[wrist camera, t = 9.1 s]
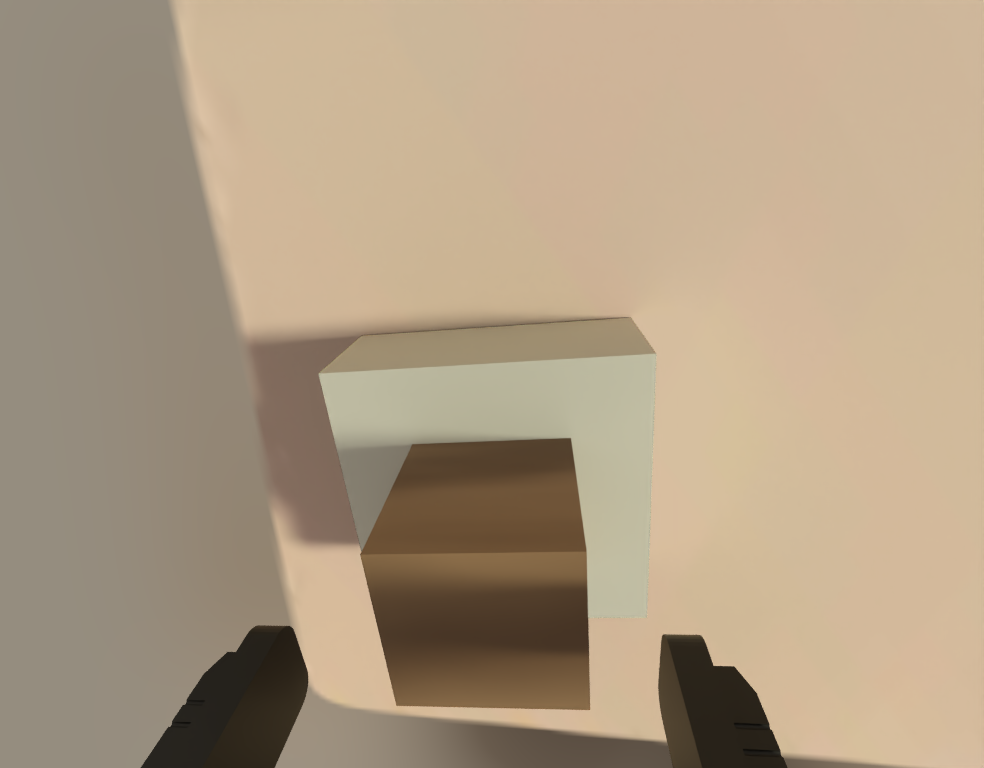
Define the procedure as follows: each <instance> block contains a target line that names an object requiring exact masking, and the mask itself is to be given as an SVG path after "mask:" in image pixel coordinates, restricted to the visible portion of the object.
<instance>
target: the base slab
mask: <svg viewBox="0 0 984 768" xmlns="http://www.w3.org/2000/svg"><path fill="white" fill-rule="evenodd" d="M319 378H320V383H321V387H322V391H323V395H324V399H325V403H326V407H327V411H328V416H329V420H330V424H331V428H332V432H333V436H334V440H335V445H336V449H337V453H338V457H339V461H340V465H341V469H342V473H343V478H344V482H345V486H346V490H347V494H348V498H349V502H350V507H351V511H352V515H353V519H354V523H355V527H356V531H357V535H358V540H359V544H360V548H361V552H362V550H363V548H364V546H365V544H366V542H367V539H368V537H369V535H370V533H371V531H372V529H373V527H374V525H375V522H376V520H377V518H378V516H379V514H380V512H381V510H382V508H383V505H384V503H385V501H386V499H387V497H388V495H389V493H390V491H391V488H392V486H393V484H394V482H395V480H396V478H397V476H398V474H399V472H400V469H401V467H402V465H403V463H404V461H405V459H406V457H407V455H408V452H409V450H410V448H411V446H412V444H431V443H457V442H482V441H508V440H534V439H559V438H571V442H572V449H573V456H574V463H575V471H576V478H577V485H578V492H579V499H580V507H581V514H582V521H583V528H584V536H585V543H586V550H587V589H588V618H647V603H648V576H649V548H650V520H651V492H652V464H653V436H654V409H655V381H656V352H655V351H654V349H653V348H652V347H651V345H650V344H649V342H648V341H647V340H646V338H645V337H644V335H643V334H642V332H641V331H640V330H639V328H638V327H637V325H636V324H635V323H634V321H633V320H632V318H616V319H601V320H586V321H571V322H557V323H542V324H527V325H512V326H497V327H483V328H468V329H453V330H438V331H423V332H409V333H394V334H379V335H364V336H361V337H360V338H358V339H357V340H356V341H355V342H354V343H353V344H352V345H350V346H349V347H348V348H347V349H346V350H345V351H344V352H342V353H341V354H340V355H339V356H338V357H337V358H336V359H334V360H333V361H332V362H331V363H330V364H329V365H328V366H327V367H325V368H324V369H323V370H322V371H321V372H320V373H319Z"/></svg>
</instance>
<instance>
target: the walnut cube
mask: <svg viewBox="0 0 984 768" xmlns="http://www.w3.org/2000/svg"><path fill="white" fill-rule="evenodd" d="M360 555H361V560H362V564H363V568H364V572H365V576H366V580H367V585H368V589H369V593H370V597H371V601H372V605H373V610H374V614H375V618H376V622H377V626H378V630H379V634H380V639H381V643H382V647H383V651H384V655H385V659H386V664H387V668H388V672H389V676H390V680H391V684H392V689H393V693H394V697H395V701H396V705H397V706H433V707H479V708H524V709H570V710H590V683H589V636H588V589H587V550H586V543H585V536H584V528H583V521H582V514H581V507H580V499H579V492H578V485H577V478H576V471H575V463H574V456H573V449H572V442H571V438H559V439H534V440H508V441H482V442H457V443H431V444H412V446H411V448H410V450H409V452H408V455H407V457H406V459H405V461H404V463H403V465H402V467H401V469H400V472H399V474H398V476H397V478H396V480H395V482H394V484H393V486H392V488H391V491H390V493H389V495H388V497H387V499H386V501H385V503H384V505H383V508H382V510H381V512H380V514H379V516H378V518H377V520H376V522H375V525H374V527H373V529H372V531H371V533H370V535H369V537H368V539H367V542H366V544H365V546H364V548H363V550H362V552H361V554H360Z"/></svg>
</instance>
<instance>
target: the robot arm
mask: <svg viewBox="0 0 984 768" xmlns="http://www.w3.org/2000/svg"><path fill="white" fill-rule="evenodd" d="M307 688H308V672H307V668H306V665H305V662H304V659H303V656H302V653H301V650H300V647H299V644H298V641H297V638H296V635H295V632H294V630H293V628H292V627H290V626H255V627H254V628H252V629H251V630H250V631H249V633H248V634H247V636H246V637H245V639H244V640H243V642H242V644H241V645H240V647H239V648H238V650H237V651H236V652H227V653H226V654H225V655H224V656H223V657H222V658H221V659H220V660H218V661H217V662H216V663H215V664H214V665H213V666H212V667H211V668H210V669H209V670H208V671H207V672H205V673H204V675H203V676H202V678H201V679H200V681H199V682H198V684H197V685H196V687H195V688H194V689H193V691H192V692H191V694H190V695H189V697H188V699H187V702H186V704H185V705H183V706H182V707H181V709H180V710H179V712H178V713H177V715H176V716H175V718H174V719H173V721H172V725H171V727H168V728H167V730H166V731H165V733H164V734H163V736H162V737H161V739H160V740H159V742H158V743H157V745H156V746H155V747H154V749H153V750H152V752H151V753H150V755H149V756H148V758H147V759H146V761H145V762H144V764H143V765H142V767H141V768H275V766H276V763H277V761H278V759H279V757H280V754H281V752H282V750H283V748H284V745H285V743H286V741H287V739H288V736H289V734H290V732H291V730H292V727H293V725H294V723H295V721H296V719H297V716H298V714H299V712H300V710H301V707H302V705H303V702H304V700H305V697H306V692H307ZM658 689H659V702H660V709H661V715H662V720H663V725H664V729H665V734H666V738H667V743H668V747H669V751H670V756H671V760H672V765H673V768H787V765H786V763H785V761H784V758H783V757H782V756H781V753H780V749H779V746H778V744H777V741H776V739H775V737H774V734H773V732H772V730H770V727H769V722H768V720H767V717H766V715H765V712H764V710H763V708H762V705H761V703H760V700H759V698H758V696H757V693H756V692H755V691H754V690H753V688H752V687H751V686H750V685H749V684H748V682H747V681H746V680H745V679H744V678H743V676H742V675H741V674H740V673H739V672H738V670H737V669H736V668H735V667H731V666H713V663H712V660H711V657H710V654H709V652H708V649H707V646H706V643H705V641H704V639H703V637H702V636H701V635H666V634H664V635H663V636H662V640H661V654H660V668H659V682H658Z"/></svg>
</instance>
